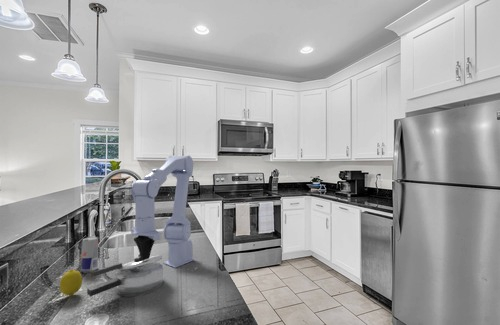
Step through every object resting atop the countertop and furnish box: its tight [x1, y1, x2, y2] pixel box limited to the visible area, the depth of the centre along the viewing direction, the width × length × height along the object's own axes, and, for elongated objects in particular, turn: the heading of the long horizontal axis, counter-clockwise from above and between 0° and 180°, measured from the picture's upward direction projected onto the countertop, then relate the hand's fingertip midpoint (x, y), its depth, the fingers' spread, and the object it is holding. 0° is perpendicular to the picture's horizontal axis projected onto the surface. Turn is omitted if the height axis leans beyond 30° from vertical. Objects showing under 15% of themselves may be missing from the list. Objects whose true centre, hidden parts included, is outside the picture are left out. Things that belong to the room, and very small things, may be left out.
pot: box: [86, 261, 164, 298], centre depth 76 cm, size 22×14×5 cm, turn 143°
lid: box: [89, 254, 163, 278], centre depth 77 cm, size 21×14×2 cm, turn 143°
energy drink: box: [80, 236, 99, 274], centre depth 92 cm, size 5×5×12 cm
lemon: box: [59, 269, 83, 297], centre depth 73 cm, size 6×6×8 cm
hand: (145, 258), depth 78 cm, fingers closed
